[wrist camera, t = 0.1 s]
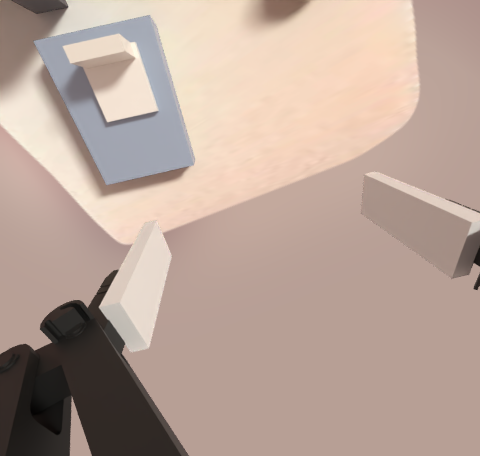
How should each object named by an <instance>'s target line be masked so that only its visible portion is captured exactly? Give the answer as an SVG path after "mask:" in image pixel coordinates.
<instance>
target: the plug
mask: <svg viewBox="0 0 480 456" xmlns="http://www.w3.org/2000/svg"><path fill="white" fill-rule="evenodd" d="M12 1H14V2H15V3H17V4H19V5H21V6H23V7H25V8H27V9H29V10H31V11H33V12H34V13H36V14H39V13H43V12H48V11H52V10H57V9H61V8H66V7H68V5H67V3H66V0H12Z"/></svg>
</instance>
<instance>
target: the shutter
mask: <svg viewBox="0 0 480 456" xmlns="http://www.w3.org/2000/svg"><path fill="white" fill-rule="evenodd" d="M63 48H64V51H65V53H66V55H67V57H68V59H69V61H70V63H71V64H74V65H77V66H81V67H83V69H84V71H85V73H86V76H87V78H88V80H89V82H90V85H91V87H92V89H93V91H94V94H95V96H96V98H97V100H98V103H99V105H100V107H101V109H102V112H103V114H104V116H105V118H106V121H107V122H111V121H116V120H120V119H124V118H129V117H133V116H138V115H142V114H147V113H151V112H155V111H159V110H158V107H157V104H156V100H155V97H154V94H153V91H152V88H151V85H150V82H149V79H148V76H147V73H146V70H145V67H144V64H143V61H142V58H141V55H140V52H139V49H138V46H137V43H136V42H131V43H130V42H129V41H128V40H127V39H125V38H124V37H123V36H121V35H120V34H114V35H110V36H105V37H101V38H96V39H92V40H87V41H83V42H78V43H74V44H69V45H65V46H63Z"/></svg>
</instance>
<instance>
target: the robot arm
mask: <svg viewBox="0 0 480 456" xmlns="http://www.w3.org/2000/svg"><path fill="white" fill-rule="evenodd" d="M361 214H362V215H364V216H365V217H366V218H368V219H369V220H371V221H372V222H373V223H375V224H376V225H378V226H379V227H380V228H382V229H383V230H385V231H386V232H387V233H389V234H390V235H392V236H393V237H394V238H396V239H397V240H399V241H400V242H401V243H403V244H404V245H405V246H407V247H408V248H410V249H411V250H412V251H414V252H415V253H417V254H418V255H420V256H421V257H422V258H424V259H425V260H426V261H428V262H429V263H431V264H432V265H433V266H435V267H436V268H438V269H439V270H440V271H442V272H443V273H445V274H446V275H447V276H449V277H450V278H456V277H461V276H465V275H469V273H470V271H471V268H472V266H473V263H475V264H477V265H478V266H480V212H479V211H476V210H474V209H470V208H469V207H466V206H464V205H463V206H462V205H461V204H459V203H456V202H454V201H451V200H447V199H443V198H440V197H438V196H436V195H433V194H431V193H428V192H426V191H423V190H421V189H418V188H416V187H413V186H411V185H408V184H406V183H403V182H401V181H398V180H396V179H393V178H391V177H389V176H386V175H383V174H381V173H378V172H372V173H367V174H364V182H363V193H362V205H361ZM171 257H172V256H171V253H170V251H169V248H168V246H167V243H166V241H165V239H164V236H163V234H162V231H161V229H160V227H159V224H158V222H157V220H155V221H151V222H146V223H144V225H143V227H142V229H141V230H140V232H139V234H138V236H137V238H136V240H135V241H134V243H133V245H132V247H131V249H130V251H129V253H128V254H127V256H126V258H125V260H124V262H123V264H122V265H121V267H120V269H119V270H115V271H113V272H112V273H111V274H110V275H109V276H108V277H106V278H105V280H104V282H103V283H102V285H101V286H100V287H101V288H100V289H99V290H98V292H97V295H95V297H94V298H93V300H92V302H91V304H90V305H89V307H88V308H87V307H86V306H85V304H84V303H83V302H82V301H80V300H74V301H70V302H67V303H65V304H63V305H61V306H59V307H57V308H56V309H55V310H53V311H52V312H50V313H49V314H48V315H47V316H46V317H45V318H44V320H43V321H42V323H41V325H40V330H41V331H42V332H43V333H44V334H45V335H46V336H47V337H48V338H49V339H50V340H51V341H52V343H50V344H48V345H46V346H44V347H42V348H40V349H37V350H35V351H34V350H33V349H32V348H31V347H30V346H29V345H27V344H23V345H17V346H15V347H12V348H10V349H9V350H7V351H5V352H3V353H2V354H0V456H70V428H71V427H70V426H71V398H72V397H73V400H74V403H75V406H76V409H77V412H78V415H79V418H80V421H81V424H82V427H83V430H84V433H85V436H86V439H87V442H88V445H89V448H90V451H91V454H92V456H189V455H188V454H187V452H186V451H185V449H184V448H183V446H182V445H181V443H180V442H179V440H178V438H177V437H176V435H175V434H174V432H173V431H172V429H171V428H170V426H169V425H168V423H167V422H166V420H165V419H164V417H163V416H162V414H161V412H160V411H159V409H158V408H157V406H156V405H155V403H154V402H153V400H152V399H151V397H150V396H149V394H148V393H147V391H146V390H145V388H144V386H143V385H142V383H141V382H140V380H139V379H138V377H137V376H136V374H135V373H134V371H133V370H132V368H131V367H130V365H129V364H128V362H127V360H126V359H125V358H124V356H123V355H122V351H123V348H124V345H126V346H127V348H128V349H129V350H130V352H135V351H139V350H143V349H148V348H149V346H150V342H151V338H152V333H153V330H154V326H155V322H156V317H157V314H158V310H159V305H160V301H161V297H162V293H163V289H164V285H165V281H166V277H167V273H168V269H169V265H170V261H171ZM479 286H480V274H479V276H478V278H477V281H476V283H475V286H474V289H475V290H478V287H479Z"/></svg>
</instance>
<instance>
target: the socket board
mask: <svg viewBox="0 0 480 456" xmlns="http://www.w3.org/2000/svg"><path fill="white" fill-rule="evenodd" d="M114 34H120V35H121V36H123V37H124V38H125V39H127V40H128V41H129V42H130V43H131V42H136V43H137V46H138V49H139V52H140V55H141V58H142V61H143V64H144V67H145V70H146V73H147V76H148V79H149V82H150V85H151V88H152V91H153V94H154V97H155V100H156V104H157V107H158V110H159V111H155V112H151V113H147V114H142V115H138V116H133V117H129V118H124V119H120V120H116V121H111V122H107V121H106V118H105V116H104V114H103V112H102V109H101V107H100V105H99V103H98V100H97V98H96V96H95V94H94V91H93V89H92V87H91V85H90V82H89V80H88V78H87V76H86V73H85V71H84V69H83V67H81V66H77V65H74V64H71V63H70V61H69V59H68V57H67V55H66V53H65V51H64V48H63V46H65V45H69V44H74V43H78V42H83V41H87V40H92V39H96V38H101V37H105V36H110V35H114ZM33 42H34V44H35V46H36V48H37V50H38V51H39V53H40V55H41V57H42V59H43V61H44V63H45V65H46V67H47V69H48V71H49V73H50V75H51V77H52V79H53V81H54V83H55V85H56V87H57V89H58V91H59V93H60V95H61V97H62V99H63V101H64V103H65V105H66V107H67V108H68V110H69V112H70V114H71V116H72V118H73V120H74V122H75V124H76V126H77V128H78V130H79V132H80V134H81V136H82V138H83V140H84V142H85V144H86V146H87V148H88V150H89V152H90V154H91V156H92V158H93V160H94V162H95V164H96V165H97V167H98V169H99V171H100V173H101V175H102V177H103V179H104V181H105V183H106V185H109V184H114V183H118V182H122V181H127V180H131V179H136V178H140V177H144V176H149V175H153V174H157V173H162V172H166V171H170V170H175V169H179V168H184V167H188V166H192V165H194V163H195V157H194V154H193V150H192V147H191V143H190V140H189V137H188V133H187V130H186V126H185V123H184V119H183V116H182V112H181V109H180V105H179V102H178V99H177V95H176V92H175V88H174V85H173V81H172V78H171V74H170V71H169V68H168V64H167V61H166V57H165V54H164V50H163V47H162V43H161V40H160V36H159V33H158V30H157V26H156V24H155V23H154V21H153V20H152V18H151V17H150V15H148V16H143V17H139V18H134V19H130V20H125V21H121V22H116V23H112V24H107V25H103V26H98V27H94V28H89V29H85V30H80V31H76V32H71V33H67V34H62V35H58V36H53V37H49V38H44V39H40V40H35V41H33Z"/></svg>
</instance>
